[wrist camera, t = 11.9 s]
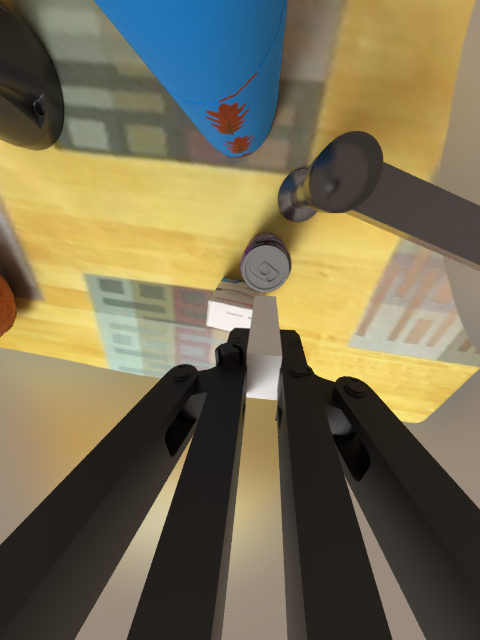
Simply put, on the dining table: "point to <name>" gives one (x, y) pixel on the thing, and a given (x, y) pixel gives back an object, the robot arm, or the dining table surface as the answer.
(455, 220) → the swing bar
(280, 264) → the beverage can
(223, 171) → the dining table surface
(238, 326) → the ink box
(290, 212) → the post
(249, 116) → the thermos
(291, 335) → the robot arm
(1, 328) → the bowl
